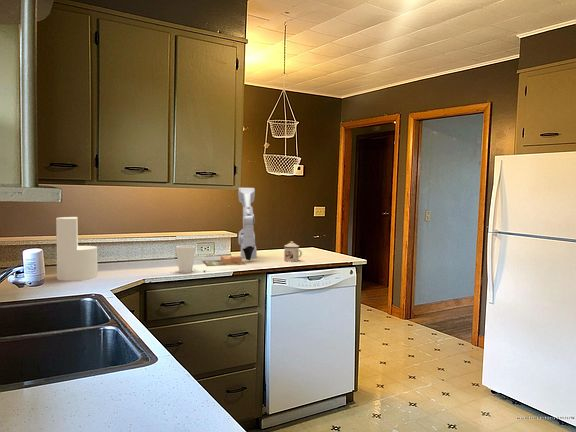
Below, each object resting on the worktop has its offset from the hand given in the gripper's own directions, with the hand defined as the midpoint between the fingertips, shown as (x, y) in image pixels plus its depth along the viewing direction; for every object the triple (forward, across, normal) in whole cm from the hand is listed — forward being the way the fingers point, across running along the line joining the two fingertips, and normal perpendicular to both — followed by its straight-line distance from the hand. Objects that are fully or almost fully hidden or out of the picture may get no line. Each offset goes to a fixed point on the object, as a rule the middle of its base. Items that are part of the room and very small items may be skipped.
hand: (248, 259), depth 256 cm
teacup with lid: (+2, -21, +20) cm, 29 cm away
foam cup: (+2, +37, -17) cm, 41 cm away
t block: (+1, +6, -7) cm, 10 cm away
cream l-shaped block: (+2, +70, -55) cm, 89 cm away
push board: (+2, +9, -11) cm, 14 cm away
